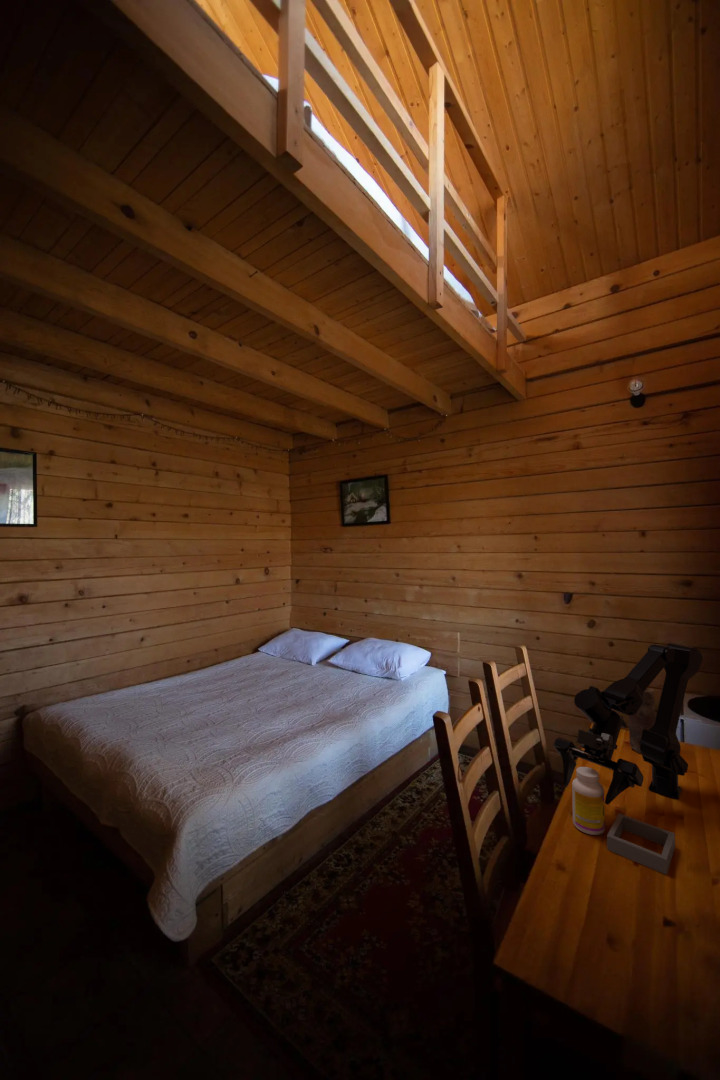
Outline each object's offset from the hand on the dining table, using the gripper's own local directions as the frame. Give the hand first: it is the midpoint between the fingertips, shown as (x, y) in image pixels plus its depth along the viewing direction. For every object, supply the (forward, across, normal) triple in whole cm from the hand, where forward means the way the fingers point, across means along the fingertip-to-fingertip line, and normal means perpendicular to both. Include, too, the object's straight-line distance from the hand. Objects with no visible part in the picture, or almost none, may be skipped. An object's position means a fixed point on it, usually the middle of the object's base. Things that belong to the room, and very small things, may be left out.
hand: (585, 794), depth 100 cm
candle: (-32, -6, +43) cm, 54 cm away
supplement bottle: (+5, 0, +7) cm, 8 cm away
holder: (+4, +10, +8) cm, 13 cm away
